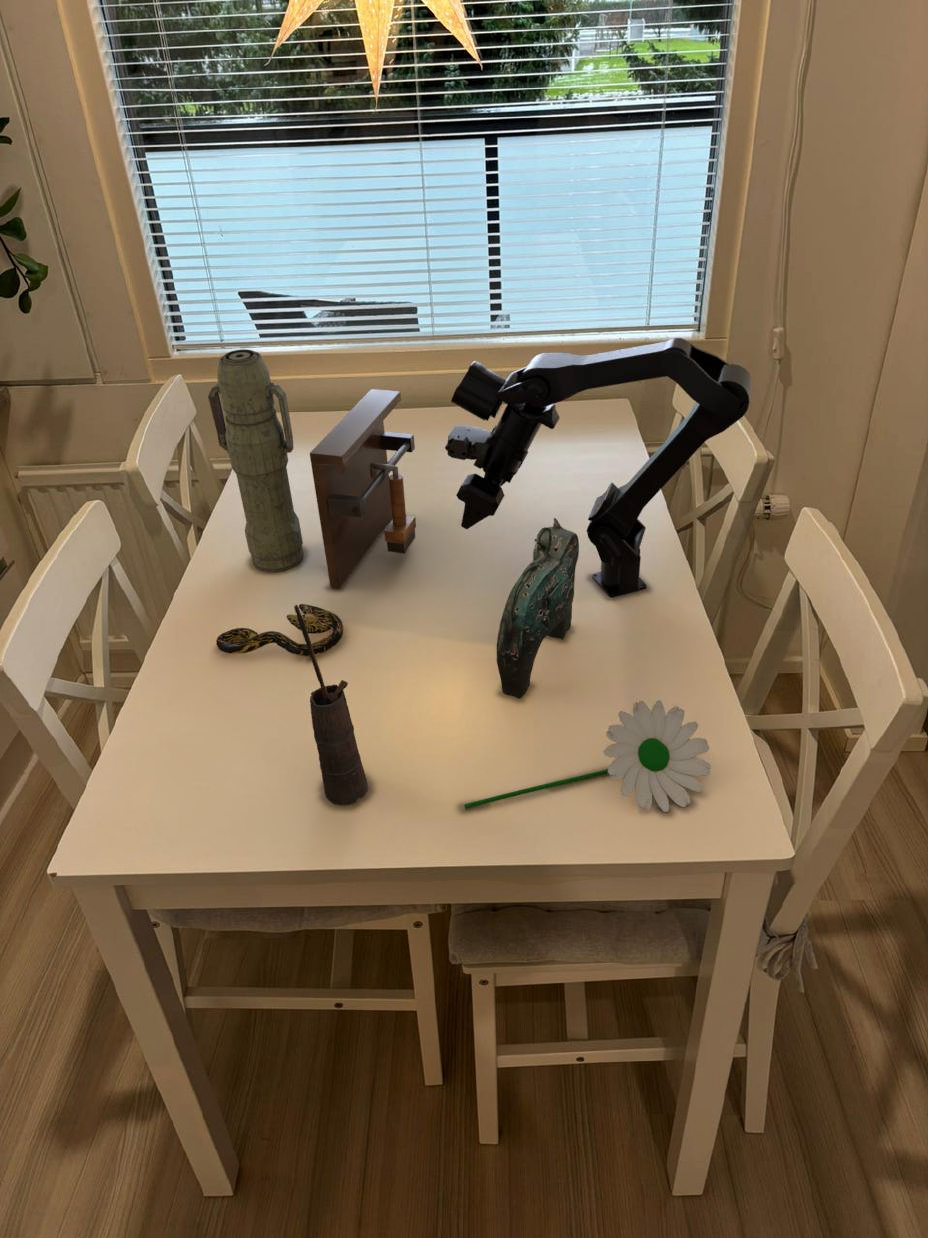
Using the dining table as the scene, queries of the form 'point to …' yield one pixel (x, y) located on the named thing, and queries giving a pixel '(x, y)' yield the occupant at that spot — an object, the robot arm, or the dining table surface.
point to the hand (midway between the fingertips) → (472, 512)
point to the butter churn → (335, 737)
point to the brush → (397, 512)
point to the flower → (646, 758)
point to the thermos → (258, 457)
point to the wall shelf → (356, 481)
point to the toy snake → (314, 621)
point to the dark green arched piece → (537, 607)
